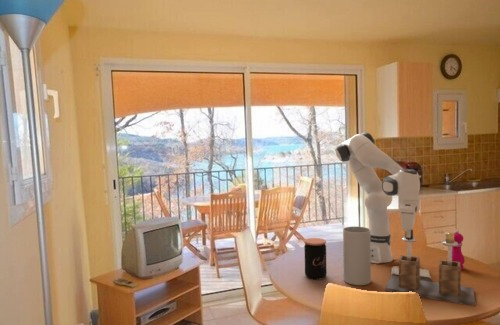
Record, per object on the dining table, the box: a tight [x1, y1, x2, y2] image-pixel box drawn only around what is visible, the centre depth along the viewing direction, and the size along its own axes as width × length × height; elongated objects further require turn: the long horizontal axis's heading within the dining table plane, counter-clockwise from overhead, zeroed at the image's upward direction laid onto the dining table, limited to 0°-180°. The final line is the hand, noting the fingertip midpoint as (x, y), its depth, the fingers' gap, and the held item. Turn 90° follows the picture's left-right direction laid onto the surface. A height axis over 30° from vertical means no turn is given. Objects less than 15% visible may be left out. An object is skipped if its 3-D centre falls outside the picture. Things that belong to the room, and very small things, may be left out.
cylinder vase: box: [342, 225, 372, 286], centre depth 175 cm, size 12×12×25 cm
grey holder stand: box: [385, 254, 476, 307], centre depth 162 cm, size 34×16×14 cm, turn 61°
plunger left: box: [401, 229, 417, 261], centre depth 165 cm, size 6×6×15 cm
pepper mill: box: [452, 229, 466, 271], centre depth 189 cm, size 7×7×20 cm
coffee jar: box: [303, 237, 328, 280], centre depth 184 cm, size 11×11×18 cm
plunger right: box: [441, 231, 458, 266], centre depth 157 cm, size 6×6×15 cm
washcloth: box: [390, 265, 433, 282], centre depth 181 cm, size 12×18×3 cm, turn 68°
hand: (409, 236), depth 165 cm, fingers closed on plunger left, 3 cm apart
